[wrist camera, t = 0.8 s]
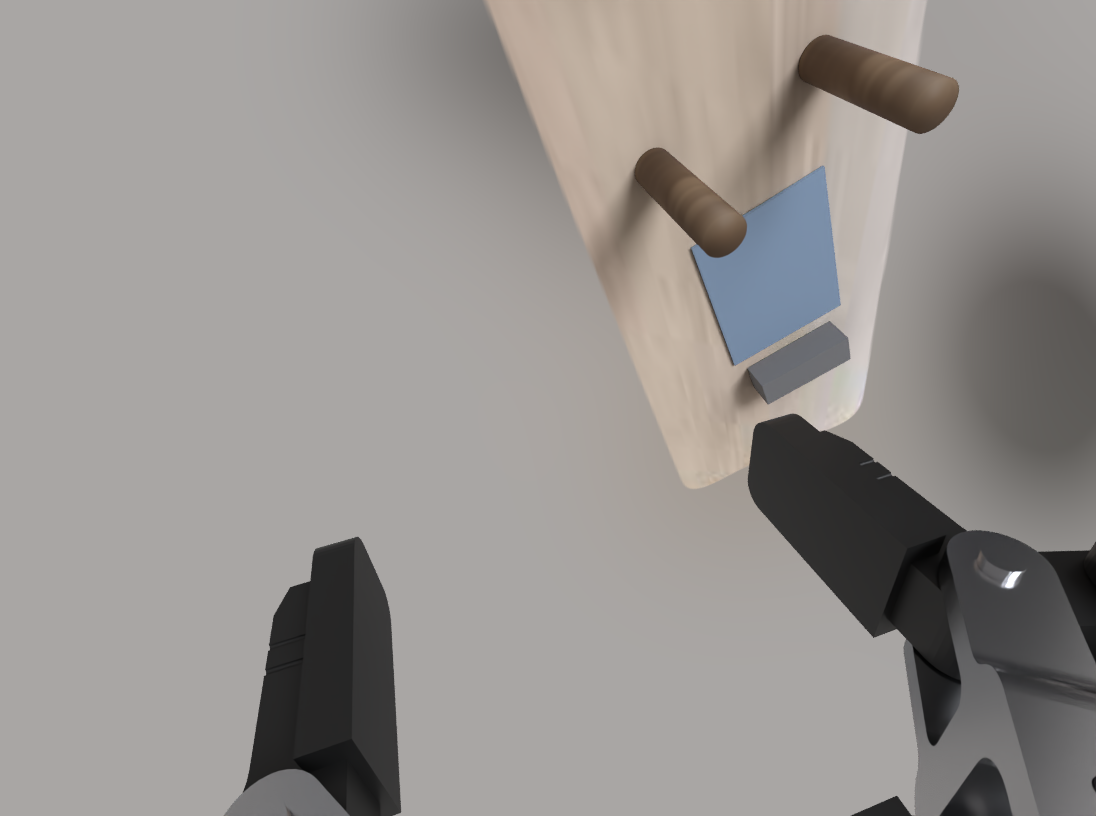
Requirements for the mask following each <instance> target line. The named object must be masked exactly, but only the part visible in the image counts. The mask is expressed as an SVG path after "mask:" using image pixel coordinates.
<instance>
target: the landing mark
mask: <svg viewBox="0 0 1096 816" xmlns="http://www.w3.org/2000/svg"><path fill="white" fill-rule="evenodd" d="M743 217H744V218H745V220H746V222H747V232H746V235H745V238H744V240H743V241H742V243H741V244H740V246H739V247H738V248H737V249H736V250H735V251H733V252H732V253H731V254H729V255H727V256H724V257H721V258H713V257H710V256H708V255H707V254H706V253H705V252H704V251H703V250H702V249H701V248H700V247H699V246H698V245H697V244H696V245H695V246H693V247H692V248H691V250H692V252H693V255H694V258H695V261H696V263H697V266H698V269H699V271H700V274H701V277H702V280H703V282H704V285H705V288H706V290H707V293H708V296H709V298H710V301H711V304H712V307H713V309H714V312H715V315H716V317H717V320H718V323H719V325H720V328H721V331H722V334H723V336H724V339H725V342H726V344H727V347H728V350H729V352H730V355H731V358H732V361H733V363H734V365H737V364H739V363H740V362H742V361H744V360H746V359H747V358H749V357H751V356H753V355H754V354H756V353H758V352H760V351H761V350H763V349H765V348H767V347H768V346H770V345H772V344H773V343H775V342H777V341H779V340H780V339H782V338H784V337H786V336H787V335H789V334H791V333H793V332H794V331H796V330H798V329H800V328H801V327H803V326H805V325H807V324H808V323H810V322H812V321H814V320H815V319H817V318H819V317H821V316H822V315H824V314H826V313H827V312H829V311H831V310H833V309H834V308H836V307H838V306H840V305H841V304H840V296H839V287H838V279H837V270H836V262H835V253H834V244H833V236H832V227H831V219H830V210H829V202H828V193H827V184H826V176H825V167H824V166H821V167H820V168H818V169H817V170H815V171H813V172H812V173H810V174H809V175H807V176H805V177H804V178H802V179H800V180H799V181H797V182H796V183H794V184H792V185H791V186H789V187H788V188H786V189H784V190H783V191H781V192H780V193H778V194H776V195H775V196H773V197H772V198H770V199H768V200H767V201H765V202H764V203H762V204H760V205H759V206H757V207H756V208H754V209H752V210H751V211H749V212H748V213H746V214H744V215H743Z"/></svg>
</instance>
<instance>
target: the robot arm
mask: <svg viewBox="0 0 1096 816" xmlns="http://www.w3.org/2000/svg"><path fill="white" fill-rule="evenodd" d="M748 486H749V490H750V493H751V496H752V498H753V500H754V502H755V504H756V505H757V507H758V508H759V509H760V510H761V511H762V513H763V514H764V515H765V516H766V517H767V518H768V519H769V520H770V522H771V523H772V524H773V525H774V526H775V527H776V528H777V529H778V531H779V532H780V533H781V534H782V535H783V536H784V537H785V539H786V540H787V541H788V542H789V543H790V544H791V545H792V546H793V548H794V549H795V550H796V551H797V552H798V553H799V554H800V555H801V557H802V558H803V559H804V560H805V561H806V562H807V563H808V564H809V565H810V567H811V568H812V569H813V570H814V571H815V572H816V573H817V575H818V576H819V577H820V578H821V579H822V580H823V581H824V582H825V583H826V585H827V586H828V587H829V588H830V589H831V590H832V591H833V593H835V595H836V596H837V597H838V598H839V599H840V600H841V602H842V603H843V604H844V605H845V606H846V607H847V608H848V609H849V611H850V612H851V613H852V614H853V615H854V616H855V617H856V618H857V620H858V621H859V622H860V623H861V624H862V625H863V626H864V627H865V629H867V631H868V632H869V633H870V634H871V635H872V636H873V638H874V637H877V636H879V635H882V634H885V633H887V632H890V631H893V630H895V629H898V630H899V631H900V632H901V634H902V635H903V636H904V637H905V638H906V641H905V644H904V657H905V664H906V671H907V677H908V685H909V691H910V698H911V705H912V712H913V719H914V725H915V733H916V739H917V746H918V772H917V777H916V784H915V814H916V816H1096V542H1095V544H1094V545H1093V547H1092V548H1091V550H1090V551H1053V552H1037V551H1036V550H1034V549H1032V548H1031V547H1030V546H1028V545H1026V544H1025V543H1023V542H1021V541H1019V540H1016V539H1014V538H1011V537H1009V536H1005V535H1003V534H999V533H995V532H990V531H981V530H974V531H973V530H972V531H966V530H965V529H964V528H962V527H961V526H959V525H958V524H957V523H956V522H954V521H953V520H952V519H950V518H949V517H948V516H947V515H945V514H944V513H943V512H941V511H940V510H939V509H937V508H936V507H935V506H934V505H932V504H931V503H930V502H929V501H927V500H926V499H925V498H923V497H922V496H921V495H920V494H918V493H917V492H916V491H914V490H913V489H912V488H910V487H909V486H908V485H907V484H905V483H904V482H903V481H901V480H900V479H899V478H898V477H896V476H892V475H891V472H890V471H889V470H887V469H886V468H885V467H884V466H882V465H881V464H880V463H878V462H876V463H875V462H874V460H873V458H872V457H871V456H869V455H868V454H867V453H865V452H864V451H863V450H862V449H860V448H859V447H858V446H856V445H855V444H854V443H853V442H851V441H848V440H846V439H844V438H841V437H839V436H836V435H834V434H832V433H830V432H827V431H825V430H824V431H821V432H819V431H818V430H817V429H816V428H814V427H813V426H812V425H811V424H809V423H808V422H807V421H806V420H805V419H803V418H802V417H801V416H799V415H797V414H789V415H785V416H782V417H778V418H775V419H771V420H768V421H764V422H761V423H758V424H757V425H756V426H755V428H754V432H753V440H752V448H751V457H750V465H749V474H748ZM269 646H270V651H268V656H267V663H266V669H265V670H266V676H264V681H263V687H262V694H261V700H260V707H259V713H258V719H257V725H256V732H255V739H254V745H253V751H252V757H251V763H250V770H249V774H248V779H247V783H246V785H245V788H244V791H243V793H242V794H241V795H240V796H239V797H238V799H236V801H235V802H234V803H233V804H232V805H231V807H230V808H229V809H228V811H227V812H226V814H225V815H224V816H393V815H396V814H398V813H401V803H400V802H401V801H400V784H399V766H398V765H399V764H398V746H397V726H396V707H395V688H394V669H393V651H392V632H391V618H390V611H389V606H388V601H387V598H386V594H385V591H384V589H383V587H382V584H381V583H380V580H379V578H378V576H377V573H376V571H375V569H374V566H373V564H372V562H371V560H370V558H369V555H368V553H367V551H366V549H365V547H364V545H363V542H362V541H361V539H360V538H359V537H355V538H352V539H348V540H345V541H341V542H338V543H334V544H331V545H327V546H324V547H320V548H317V549H315V551H314V554H313V561H312V571H311V581H310V582H306V583H303V584H300V585H296V586H293V587H290V589H289V590H288V592H287V594H286V595H285V597H284V599H283V601H282V602H281V604H280V606H279V608H278V609H277V611H276V613H275V615H274V618H273V624H272V630H271V636H270V643H269ZM852 816H912V815H911V814H910V813H909V812H908V810H907V809H906V807H905V806H904V805H903V803H902V802H901V801H900V799H899V798H898V797H897V796H895V797H893V798H890V799H888V800H886V801H884V802H881V803H879V804H877V805H874V806H872V807H870V808H868V809H865V810H863V811H861V812H858V813H856V814H854V815H852Z"/></svg>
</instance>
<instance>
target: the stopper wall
mask: <svg viewBox="0 0 1096 816" xmlns="http://www.w3.org/2000/svg"><path fill="white" fill-rule="evenodd" d="M849 359H850V351H849V342H848V337H847V336H845V335H844V334H843V333H842V332H841V331H840V330H839V329H838V328H837V327H836V326H835V325H833V324H832V323H831V322H830V321H829V322H827V323H826V324H824V325H822V326H820V327H819V328H817V329H815V330H813V331H812V332H810V333H808V334H806V335H805V336H803V337H801V338H799V339H798V340H796V341H794V342H792V343H791V344H789V345H787V346H785V347H784V348H782V349H780V350H778V351H777V352H775V353H773V354H771V355H770V356H768V357H766V358H764V359H763V360H761V361H759V362H757V363H756V364H754V365H752V366H750V367H749V368H748V371H749V374H750V377H751V380H752V383H753V386H754V388H755V389H756V390H757V391H758V393H759V394H760V395H761V396H762V398H763V399H764V400H765V401H766V402H767V404H770V403H772V402H774V401H775V400H777V399H779V398H781V397H783V396H784V395H786V394H788V393H790V392H792V391H793V390H795V389H797V388H799V387H801V386H802V385H804V384H806V383H808V382H810V381H811V380H813V379H815V378H817V377H819V376H820V375H822V374H824V373H826V372H828V371H829V370H831V369H833V368H835V367H837V366H839V365H840V364H842V363H844V362H846V361H848V360H849Z"/></svg>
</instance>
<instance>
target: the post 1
mask: <svg viewBox="0 0 1096 816" xmlns="http://www.w3.org/2000/svg"><path fill="white" fill-rule="evenodd" d="M635 177H636V180H637V182H638V183H639V184H640V185H641V186H642V187H643V188H644V189H645V190H646V191H647V192H648V193H649V195H650V196H651V197H652V198H653V199H654V200H655V201H656V202H657V203H658V204H659V205H660V206H661V207H662V208H663V209H664V210H665V211H666V212H667V213H668V214H669V215H670V216H671V217H672V219H673V220H674V221H675V222H676V223H677V224H678V225H679V226H680V227H681V228H682V229H683V230H684V231H685V232H686V233H687V234H688V235H689V236H690V237H691V238H692V239H693V240H694V241H695V243H696V244H697V245H698V246H699V247H700V248H701V249H702V250H703V251H704V252H705V253H706V254H707V255H708V256H710V257H713V258H721V257H724V256H727V255H729V254H731V253H732V252H733V251H735V250H736V249H737V248H738V247H739V246H740V244H741V243H742V241H743V240H744V238H745V235H746V232H747V222H746V220H745V218H744V217H743V216H742V215H741V214H739V213H738V212H737V211H736V210H735V209H734V208H732V207H731V206H730V205H729V204H728V203H727V202H725V201H724V200H723V199H722V198H721V197H720V196H718V195H717V194H716V193H715V192H714V191H713V190H711V189H710V188H709V187H708V186H707V185H706V184H704V183H703V182H702V181H701V180H700V179H699V178H698V177H696V176H695V175H694V174H693V173H692V172H691V171H689V170H688V169H687V168H686V167H685V166H684V165H682V164H681V163H680V162H679V161H678V160H677V159H675V158H674V157H673V156H672V155H671V154H670V153H668V152H667V151H666V150H665V149H662V148H653V149H650V150H648V151H647V152H645V153H644V154H643V155H642V156H641V157H640V159H639V160H638V162H637V165H636V168H635Z"/></svg>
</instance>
